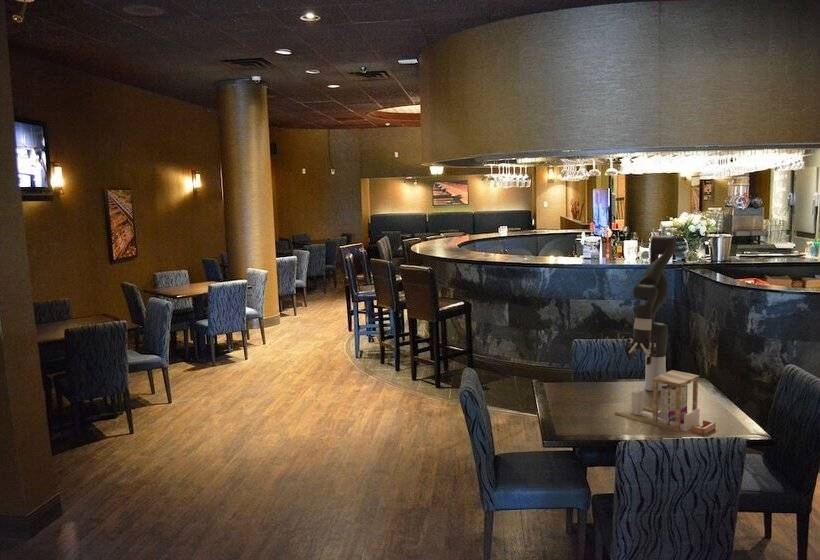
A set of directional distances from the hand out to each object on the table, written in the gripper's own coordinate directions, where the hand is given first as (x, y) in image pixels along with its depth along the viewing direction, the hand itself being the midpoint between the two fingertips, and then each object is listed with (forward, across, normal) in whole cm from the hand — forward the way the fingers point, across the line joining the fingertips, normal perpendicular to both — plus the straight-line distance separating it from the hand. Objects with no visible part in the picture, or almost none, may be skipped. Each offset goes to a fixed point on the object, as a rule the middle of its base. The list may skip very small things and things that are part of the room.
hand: (639, 363), depth 311 cm
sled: (+20, -20, +11) cm, 30 cm away
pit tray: (+20, -38, +11) cm, 44 cm away
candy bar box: (+20, -25, +11) cm, 34 cm away
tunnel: (+20, -16, +11) cm, 28 cm away
